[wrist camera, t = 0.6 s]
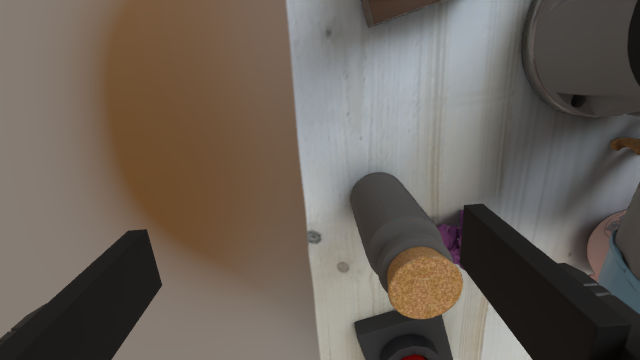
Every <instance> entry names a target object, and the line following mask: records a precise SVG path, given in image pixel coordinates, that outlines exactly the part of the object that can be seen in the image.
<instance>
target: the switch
mask: <svg viewBox="0 0 640 360" xmlns="http://www.w3.org/2000/svg"><path fill="white" fill-rule="evenodd" d="M401 360H426V359H425V358H424V357H423V356H421V355H416V354H413V355H410V356H406V357H403V358H402V359H401Z"/></svg>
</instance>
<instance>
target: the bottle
mask: <svg viewBox="0 0 640 360" xmlns="http://www.w3.org/2000/svg"><path fill="white" fill-rule="evenodd" d="M350 201H351V207H352V211H353V214H354V218H355V221H356V224H357V227H358V231H359V234H360V237H361V240H362V243H363V246H364V250H365V253H366V256H367V258H368V261H369V264H370V266H371V267H372V269H373V270H374V272H375V273H376V274H377V275H378V276H379V280H380V282H381V285H382V286H383V288H384V289H385V291H386V292H387V293H388V296H389V300H390V302H391V304H392V306H393V307H394V308H395V309H396V310H397V311H398V312H399V313H401V314H402V315H404V316H407V317H410V318H414V319H427V318H433V317H435V316H438V315H441V314H443V313H444V312H446V311H447V310H449V309H450V308H451V307H452V306H453V305H454V304H455V303H456V302H457V300H458V298H459V297H460V295H461V292H462V288H463V280H462V276H461V273H460V271H459V269H458V268H457V267H456V266H455V265H454V264H453V259H452V256H451V254H450V252H449V251H448V249H447V248H446V246H445V245H444V244H443V239H442V236H441V234H440V232H439V230H438V228H437V227H436V226H435V224H434V223H433V222H432V220H431V219H430V218H429V217H428V215H427V214H426V213H425V212H424V210H423V209H422V208H421V207H420V205H419V204H418V203H417V202H416V200H415V199H414V198H413V197H412V195H411V194H410V193H409V192H408V191H407V189H406V188H405V187H404V186H403V185H402V183H401V182H400V181H399V180H398V179H397V178H395V177H394V176H392V175H390V174H387V173H379V172H378V173H372V174H369V175H366V176H365V177H363V178H362V179H360V180H359V181H358V182H357V183H356V185H355V186H354V188H353V190H352V193H351V198H350Z"/></svg>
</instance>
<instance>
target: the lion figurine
mask: <svg viewBox="0 0 640 360" xmlns="http://www.w3.org/2000/svg"><path fill="white" fill-rule="evenodd" d="M627 147H628V148H630V149H631V150H633V151H634V152H635V153H636V154H637V155H640V139H634V138H617V139H614V140H613V141H612V142H611V148H612V149H614V150H620V149H621V148H627Z"/></svg>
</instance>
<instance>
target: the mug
mask: <svg viewBox="0 0 640 360" xmlns="http://www.w3.org/2000/svg"><path fill="white" fill-rule="evenodd" d="M626 211H627V210H624V211H621V212H618V213H615V214H613V215H611V216H610V217H608V218H606V219H605V220H604V221H602V222H601V223H600V224H599V225H598V226H597V227H596V228H595V230H594V231H593V232H592V234H591V236H590V238H589V240H588V244H587V257H588V261H589V263H590V265H591V267H592V269H593V271H594V274H593V275H588V276H590V277H591V278H592V279H594V280H595V281H598V278H599V274H600V271H601V268H602V266H603V263H604V260H605V258H606V255H607V253H608V250H609V238H610V235H611V233H612V232H614V231H615V230H616V229H618V228H619V227H620V224H621V222H622V220H623V218H624V216H625V214H626Z"/></svg>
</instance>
